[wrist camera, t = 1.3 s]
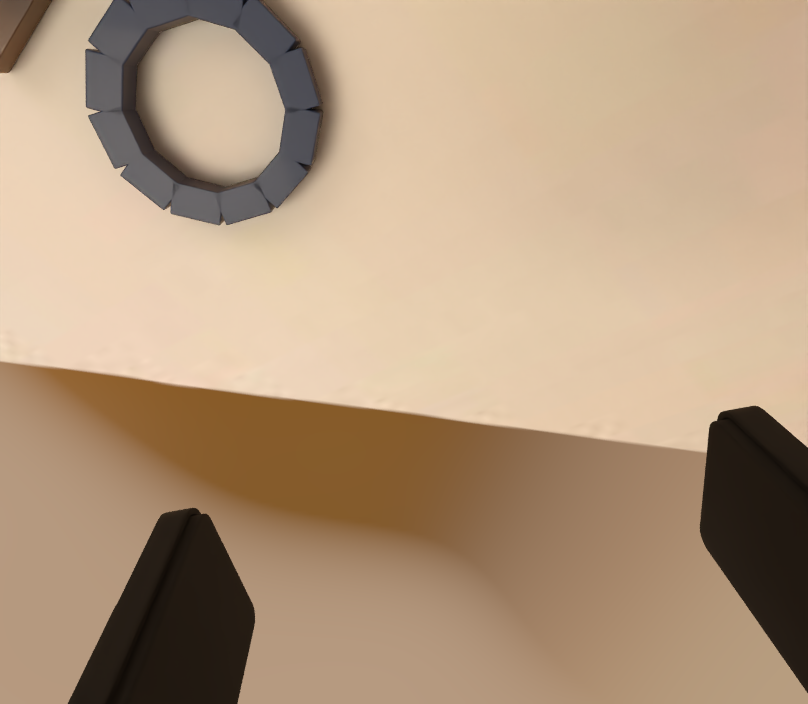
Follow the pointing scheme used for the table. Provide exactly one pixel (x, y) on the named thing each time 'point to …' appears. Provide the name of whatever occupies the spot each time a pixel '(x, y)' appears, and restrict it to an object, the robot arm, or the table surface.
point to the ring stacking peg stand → (17, 27)
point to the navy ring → (128, 140)
